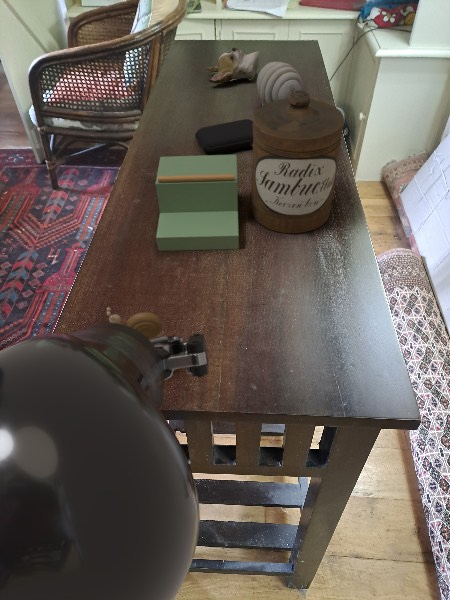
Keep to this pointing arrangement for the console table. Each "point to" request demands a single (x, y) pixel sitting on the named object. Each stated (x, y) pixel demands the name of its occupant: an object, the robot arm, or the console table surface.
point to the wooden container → (295, 162)
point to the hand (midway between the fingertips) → (128, 353)
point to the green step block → (197, 203)
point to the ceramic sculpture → (235, 66)
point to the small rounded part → (141, 323)
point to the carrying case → (226, 136)
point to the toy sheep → (277, 82)
